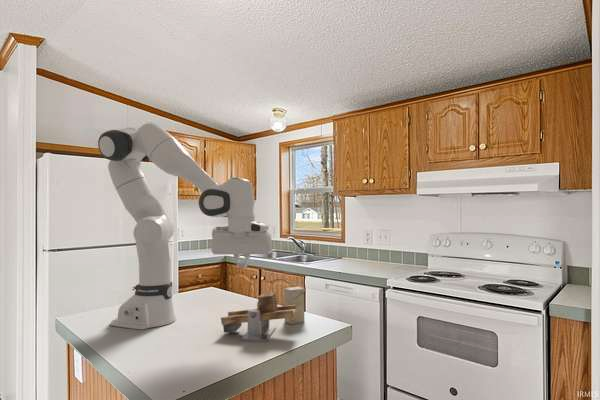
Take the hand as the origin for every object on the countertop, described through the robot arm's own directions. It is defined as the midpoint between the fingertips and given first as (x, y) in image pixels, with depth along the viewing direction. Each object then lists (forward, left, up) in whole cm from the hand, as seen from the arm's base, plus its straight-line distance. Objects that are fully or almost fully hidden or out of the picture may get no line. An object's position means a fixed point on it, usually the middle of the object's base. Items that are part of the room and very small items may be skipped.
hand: (242, 267), depth 123 cm
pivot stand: (+6, 0, -22) cm, 22 cm away
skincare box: (+15, +15, -22) cm, 30 cm away
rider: (+9, 0, -15) cm, 17 cm away
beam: (+6, 0, -19) cm, 20 cm away
